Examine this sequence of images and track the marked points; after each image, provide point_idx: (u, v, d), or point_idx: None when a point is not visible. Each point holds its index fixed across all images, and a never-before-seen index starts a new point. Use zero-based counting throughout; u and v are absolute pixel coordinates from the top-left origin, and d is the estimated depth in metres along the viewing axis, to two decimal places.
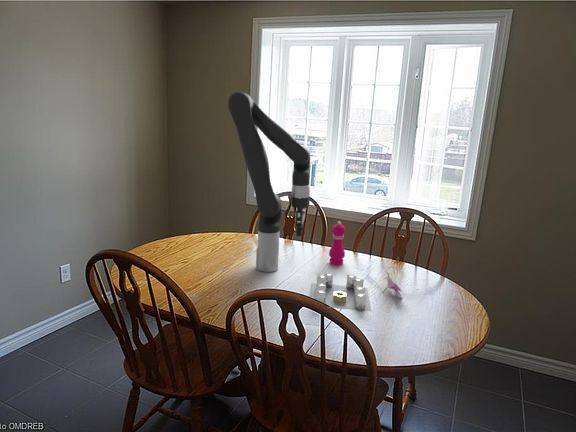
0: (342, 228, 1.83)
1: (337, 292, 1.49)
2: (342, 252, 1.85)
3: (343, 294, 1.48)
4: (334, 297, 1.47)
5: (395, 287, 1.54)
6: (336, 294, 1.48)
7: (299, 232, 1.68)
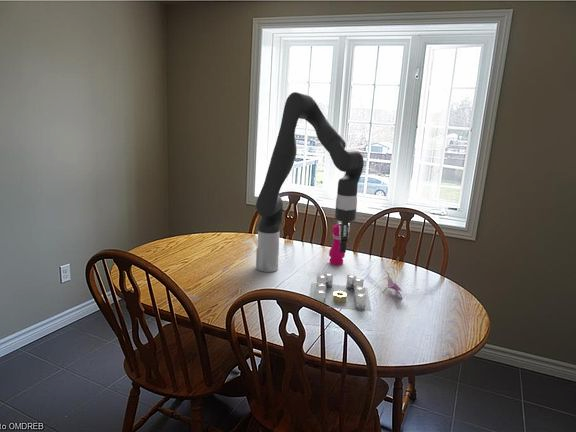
0: None
1: (337, 292, 1.49)
2: None
3: (343, 294, 1.48)
4: (334, 297, 1.47)
5: (395, 287, 1.54)
6: (336, 294, 1.48)
7: (343, 248, 1.51)
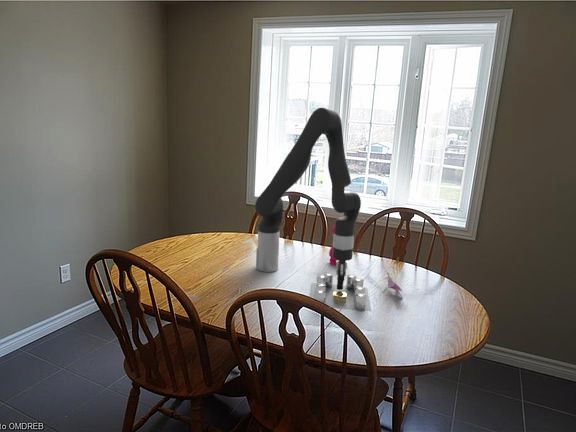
0: None
1: (337, 292, 1.49)
2: None
3: (343, 294, 1.48)
4: (334, 297, 1.47)
5: (395, 287, 1.54)
6: (336, 294, 1.48)
7: (340, 286, 1.54)
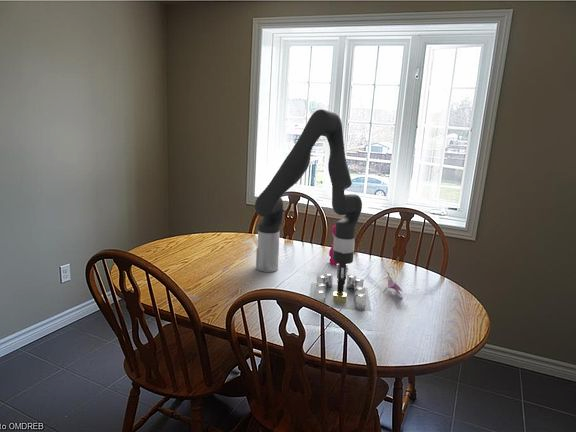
0: None
1: (337, 293, 1.49)
2: None
3: (343, 294, 1.48)
4: (334, 297, 1.47)
5: (395, 287, 1.54)
6: (336, 294, 1.48)
7: (341, 289, 1.51)
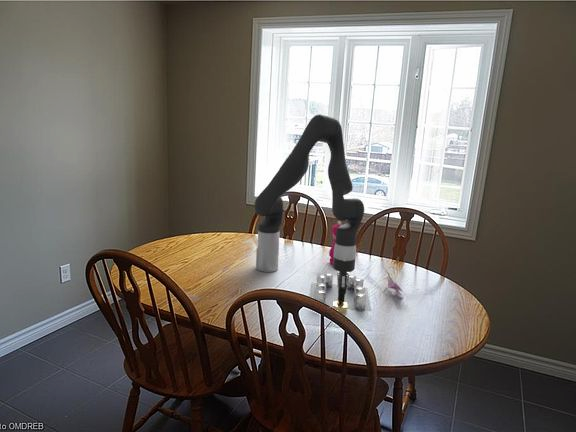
0: None
1: (338, 303, 1.41)
2: None
3: (343, 304, 1.40)
4: (334, 308, 1.39)
5: (396, 287, 1.54)
6: (336, 304, 1.40)
7: (341, 299, 1.43)
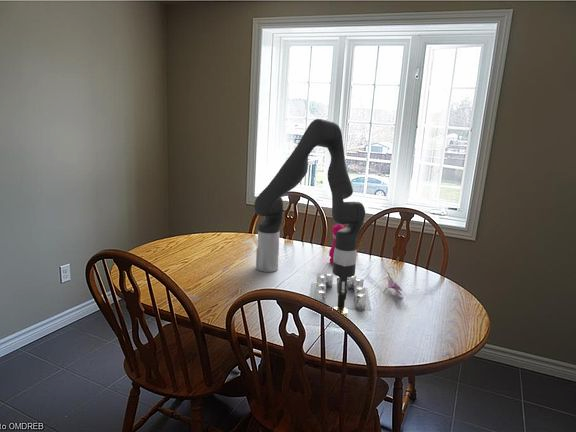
0: (342, 228, 1.83)
1: (337, 308, 1.37)
2: None
3: (344, 310, 1.36)
4: None
5: (396, 287, 1.54)
6: None
7: (341, 305, 1.38)
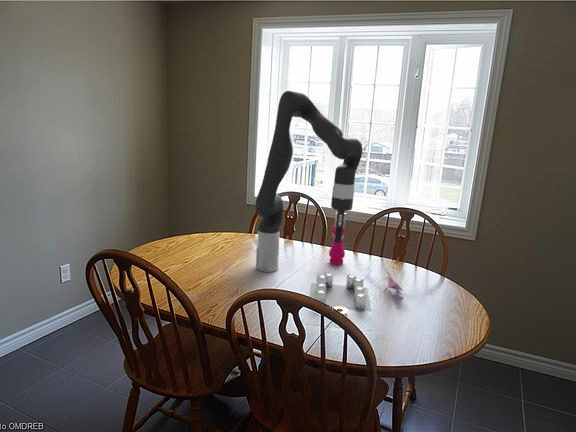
0: None
1: (337, 308, 1.37)
2: (342, 252, 1.85)
3: (344, 310, 1.36)
4: None
5: (396, 287, 1.54)
6: None
7: (338, 238, 1.47)
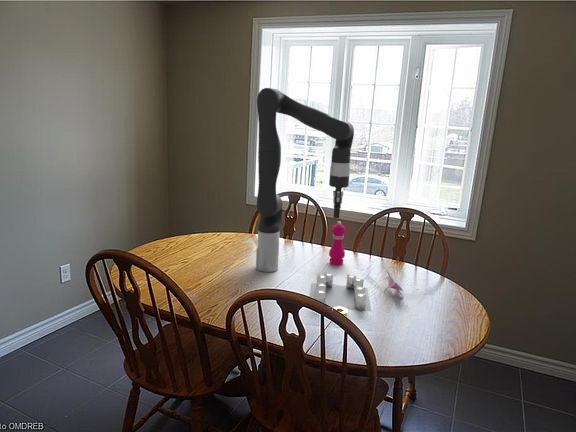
0: (342, 228, 1.83)
1: (337, 308, 1.37)
2: (342, 252, 1.85)
3: (344, 310, 1.36)
4: None
5: (396, 286, 1.55)
6: None
7: (337, 214, 1.60)
